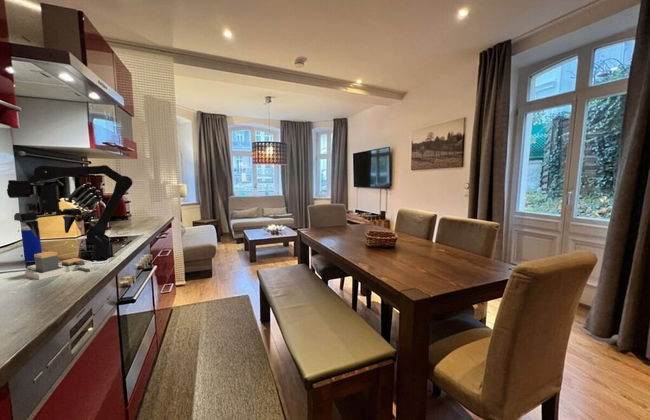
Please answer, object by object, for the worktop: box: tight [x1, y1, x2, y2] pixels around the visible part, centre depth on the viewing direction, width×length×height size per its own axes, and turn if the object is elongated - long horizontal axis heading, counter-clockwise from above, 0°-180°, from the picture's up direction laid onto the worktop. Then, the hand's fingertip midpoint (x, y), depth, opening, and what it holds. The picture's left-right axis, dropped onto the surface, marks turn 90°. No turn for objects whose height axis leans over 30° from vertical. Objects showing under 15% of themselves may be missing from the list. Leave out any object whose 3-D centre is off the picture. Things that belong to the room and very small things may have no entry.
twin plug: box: [60, 257, 91, 273], centre depth 105 cm, size 4×12×4 cm, turn 69°
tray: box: [26, 259, 62, 270], centre depth 107 cm, size 9×9×1 cm
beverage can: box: [20, 225, 43, 263], centre depth 114 cm, size 5×5×15 cm
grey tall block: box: [34, 251, 59, 273], centre depth 99 cm, size 4×4×8 cm
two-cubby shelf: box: [24, 259, 93, 280], centre depth 103 cm, size 16×9×2 cm, turn 160°
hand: (52, 235), depth 109 cm, fingers open, 9 cm apart
